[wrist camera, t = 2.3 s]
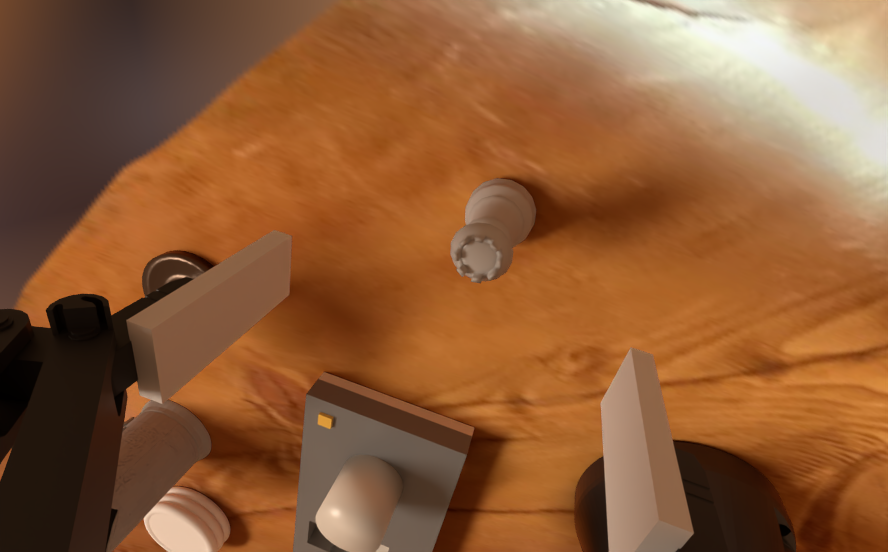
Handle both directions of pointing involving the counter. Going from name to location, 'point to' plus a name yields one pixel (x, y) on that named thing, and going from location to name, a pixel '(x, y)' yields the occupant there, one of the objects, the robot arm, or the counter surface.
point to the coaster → (187, 522)
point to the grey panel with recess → (374, 471)
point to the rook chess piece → (492, 229)
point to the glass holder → (152, 462)
